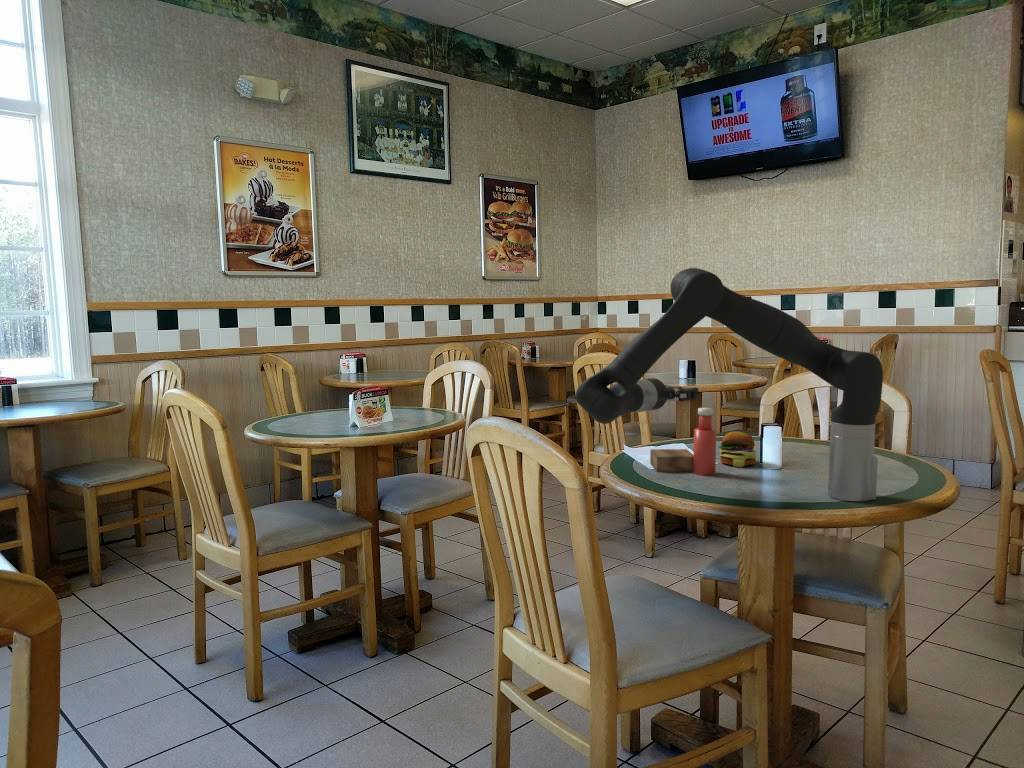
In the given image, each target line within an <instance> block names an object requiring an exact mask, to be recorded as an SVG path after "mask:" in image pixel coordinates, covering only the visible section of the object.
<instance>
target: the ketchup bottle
mask: <svg viewBox="0 0 1024 768" xmlns="http://www.w3.org/2000/svg"><path fill="white" fill-rule="evenodd" d="M697 415H698V427H697V428H693V455H694V462H693V471H692V472H693V474H694V475H698V476H714V475H716V468H717V467H716V465H717V459H716V457H717V429H715V428H713V424H712V423H713V422H712V421H713V415H714V408H711V407H698V408H697Z"/></svg>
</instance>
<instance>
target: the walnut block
mask: <svg viewBox="0 0 1024 768" xmlns="http://www.w3.org/2000/svg"><path fill="white" fill-rule="evenodd" d="M649 451H650V456H649V457H650V459H649V461H650V464H649V465H651V467H653V469H654V470H655V472H660V473H661V472H663V473H664V472H667V473H668V472H669V473H670V472H672V473H674V472H677V473H678V472H693V462H694V453H691V452H690V451H689V450H688V449H686V448H684V449H683V448H674V449H671V448H668V449H658V448H657V449H655V448H654V449H650V450H649Z"/></svg>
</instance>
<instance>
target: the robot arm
mask: <svg viewBox="0 0 1024 768" xmlns="http://www.w3.org/2000/svg"><path fill="white" fill-rule="evenodd" d="M670 295H671V297H672V299H673V301H674V302H673V303H672V304H671V306H670V307H669V309H667V311H666V312H665V313H664V314H663V315H662V316H661V317H659V319H658V320H657V321H656V322H654V323H653V324H651V325H650V326H649V327H647V328H646V329H645V330H643V331H642V332H640V333H639V334H638V335H637V336H635V337H634V338H633V339H632V340H631V341H629V343H628V344H626V346H625V347H624V348H623V349H622V350H621V351H620V352H619V354H617V355H616V357H615V358H614V359H613V360H612V361H611V362H610V363H608V364H607V365H606V366H605V367H603V368H602V369H600V370H598V372H596V373H594V374H592V375H591V376H590V377H588V378H587V379H585V380H584V381H583V382H581V383H580V384H579V385H578V388H576V389H577V390H576V392H575V401H576V403H577V404H578V405H579V406H580V407H581V408H582V409H583V410H584V411H585V412H586V413H587V414H588V415H589V416H590V417H592V419H593V420H594V421H596V422H597V423H600V424H605V425H606V424H611V423H612V422H614V421H615V420H617V419H618V418H620V417H621V416H623V415H624V414H630V413H645V412H649V411H650V412H651V411H657V410H659V409H661V408H662V407H663V406H664V405H666V403H670V402H681V403H682V402H686V401H687V402H688V401H695V400H696V399H697V398H698V396H699V390H700V389H699V388H698V387H682V386H680V385H669V384H665V383H664V382H663V381H661V380H660V379H658V378H655V377H651V378H643V377H644V376H645V374H646V373H647V372H648V371H649V370H650V369H651V368H652V367H653V365H654V364H656V362H657V361H658V360H659V359H660V358H661V357H662V356H663V355H664V354H665V353H666V352H667V350H669V349H670V347H672V346H673V345H675V343H676V342H677V341H679V339H680V338H682V337H683V336H684V335H685V334H687V333H688V332H689V331H690V330H691V329H692V328H693V327H694V326H696V325H697V324H698V323H699V322H701V321H702V320H704V318H706V317H707V318H709V319H712V320H714V321H716V322H718V323H720V324H722V325H723V326H725V327H726V328H728V329H729V330H730V331H732V332H734V333H735V334H737V336H740V337H741V338H743V339H745V340H746V341H747V342H748V343H751V344H752V345H754V346H755V347H757V348H760V349H762V350H764V351H766V352H767V353H770V354H771V355H774V356H775V357H778V358H780V359H783V360H785V361H787V362H789V363H792V364H794V365H797V366H800V367H802V368H804V369H806V370H807V371H809V372H811V373H812V374H813V375H816V376H817V377H818V378H820V379H821V380H823V381H824V382H826V383H827V384H828V385H830V386H832V387H833V388H835V389H837V390H841V391H843V392H842V401H841V403H839V405H838V406H836V407H833V408H832V409H831V413H830V429H829V430H830V432H829V433H830V434H829V436H830V437H829V453H828V454H829V455H828V456H829V457H828V460H829V461H828V483H827V495H828V496H829V497H831V498H833V499H837V500H842V501H847V502H867V501H871V500H876V499H877V484H878V483H877V481H878V480H877V479H878V465H879V464H878V461H879V460H878V457H877V456H875V440H876V439H875V436H876V435H875V434H876V422H877V421H876V419H877V418H876V417H877V416H878V413H879V412H880V408H881V401H882V392H883V383H884V381H883V379H884V371H883V365H882V363H881V360H880V358H878V357H877V356H876V355H875V354H874V353H870V352H867V351H858V350H857V351H856V350H847V349H844V348H840V347H838V346H835V345H833V344H830V343H828V342H826V341H823V340H822V339H821V338H818V337H817V336H816V335H815V333H813V332H812V331H811V330H810V329H809V327H807V325H805V324H804V323H803V322H802V321H801V320H800V319H798V318H796V317H794V316H792V315H791V314H788V313H787V312H785V311H783V310H781V309H780V308H777V307H775V306H773V305H770V304H768V303H765V302H762V301H760V300H757V299H754V298H751V297H748V296H746V295H743V294H740V293H737V292H735V291H734V290H732V289H730V288H728V287H727V286H725V285H724V284H723V282H722V280H721V279H720V277H719V276H718V275H717V274H715V273H713V272H711V271H708V270H706V269H702V268H697V267H690V268H685V269H683V270H680V271H679V272H677V273H676V274H675V275H674V277H673V278H672V280H671V282H670ZM611 384H612V385H611ZM609 385H611V386H610V387H608V386H609ZM675 389H676V390H677V392H676V390H675Z"/></svg>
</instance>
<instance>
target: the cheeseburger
mask: <svg viewBox="0 0 1024 768" xmlns="http://www.w3.org/2000/svg"><path fill="white" fill-rule="evenodd" d="M755 445H756V444H755V441H754V438H753V437H752V435H750V434H748V433H745V432H742V431H735V430H734V431H729V432H727V433H726V434H725V436H724V437H723V438H722V441H721V443H720V445H719V446H718V448H719V450H718V452H719V458H720V463H722V464H726V465H730V466H733V467H735V468H743V467H745V466H750V465H754V464H756V460H757V459H756V458H757V455H756V454H757V451H756V449H755Z"/></svg>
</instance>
